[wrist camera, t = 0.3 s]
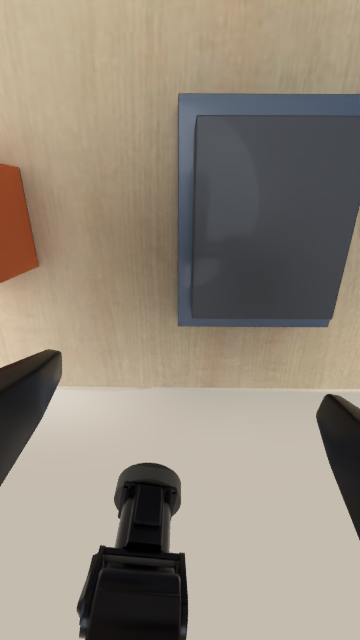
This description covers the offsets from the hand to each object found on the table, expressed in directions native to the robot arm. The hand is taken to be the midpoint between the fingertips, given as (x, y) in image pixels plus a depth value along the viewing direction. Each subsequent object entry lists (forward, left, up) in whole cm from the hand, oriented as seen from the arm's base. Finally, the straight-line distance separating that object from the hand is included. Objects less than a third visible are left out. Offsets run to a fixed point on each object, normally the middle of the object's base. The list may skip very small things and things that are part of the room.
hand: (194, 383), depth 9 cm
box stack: (+5, -5, -14) cm, 16 cm away
